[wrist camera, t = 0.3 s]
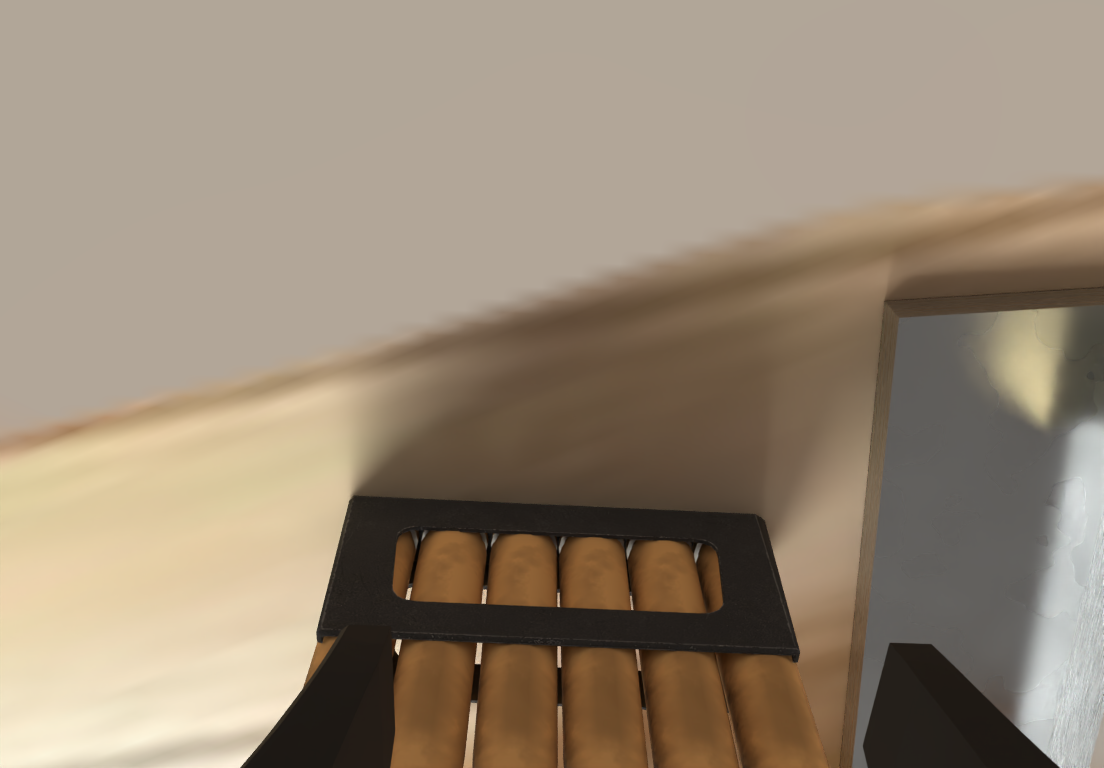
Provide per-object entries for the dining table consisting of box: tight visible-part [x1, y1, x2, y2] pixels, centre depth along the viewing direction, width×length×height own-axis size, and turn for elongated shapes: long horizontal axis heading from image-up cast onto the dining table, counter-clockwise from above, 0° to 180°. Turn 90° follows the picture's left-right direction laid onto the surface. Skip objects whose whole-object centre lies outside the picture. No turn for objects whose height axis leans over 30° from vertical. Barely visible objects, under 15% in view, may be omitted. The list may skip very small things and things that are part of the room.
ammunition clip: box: [303, 496, 829, 768], centre depth 19 cm, size 11×2×12 cm, turn 87°
